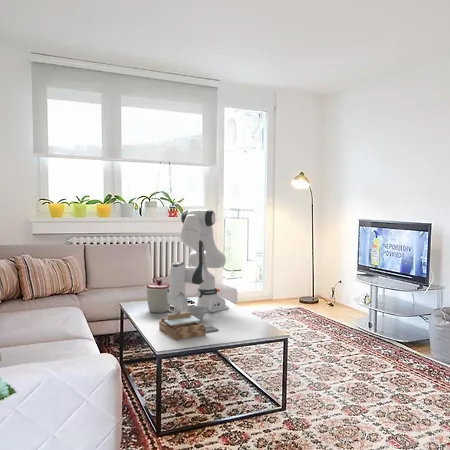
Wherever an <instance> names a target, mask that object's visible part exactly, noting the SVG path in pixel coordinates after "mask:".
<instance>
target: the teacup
mask: <svg viewBox="0 0 450 450" xmlns="http://www.w3.org/2000/svg"><path fill="white" fill-rule="evenodd" d="M205 308H207V311H204V309H205ZM208 311H209V309H208V307H203V306H197V305H191V306H188V309H187V310H186V312H191V316H194V317H196V318H198V319H200V321H202V320H203V318H204V317H205V316H206V315H207V314H208V313H209V312H208Z"/></svg>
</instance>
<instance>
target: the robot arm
mask: <svg viewBox="0 0 450 450" xmlns="http://www.w3.org/2000/svg"><path fill="white" fill-rule="evenodd" d="M216 219H217V217H216V213H215V211H213V210H212V209H205V208H198V209H196V208H195V209H194V208H193V209H184V210H183V211H182V212H181V217H180V220H181V221H180V222H181V223H182V226H181V232H180V240H181V242H182V244H183V245H184V246H185V247H187V248H189V249H192V250H193V251H191V252H190V253H189V256H188V264H189V265H190V266H187V265H185V263H184V262H182V261H174V262H173V263H171V264H170V267H169V268H170V269H169V280H170V281H169V282H170V283H169V284H170V287H169V288H167V292H168V293H167V301H168V304H170V306H172V307H173V309H174V314H178V313H181V312H184V311H185V312H187V309H188V307H189V306H188V304H189V303H188V297H187V296H186V284H193V285H198V288H197V303H196V306H203V307H208V309H209V311H208V312H207V313H216V312H219V311H223V310H228V309H230V306H229V305H227V304H226V300H225V298H224V297H223V296H221V295H220V294H219V292H221V289H220V288H216V277H215V275H214V274H213V273H212V272H210V271H209V270H208V268H209V269H221V268H223V267H224V266H225V265H226V262H227V260H226V256H225V254H224V253H223V252H222V251H220V250H219V249H218V247H217V244H216V243H215V238H214V237H215V236H214V228H213V226H214V224H215V223H216ZM206 311H207V308H205V309H204V312H206Z"/></svg>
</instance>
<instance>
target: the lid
mask: <svg viewBox="0 0 450 450" xmlns="http://www.w3.org/2000/svg"><path fill="white" fill-rule="evenodd" d="M166 318H167V319H166V320H164V321H165V322H166V323H168V324H169V325H171V326H173V325H180V324H186V323H193V322H198V323H199V322H201V320H200V319H198V318H196V317H194V316H191V312H187V311H185V312H180V313H178V314H175V313H173V314H167V317H166Z"/></svg>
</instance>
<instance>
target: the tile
mask: <svg viewBox="0 0 450 450" xmlns="http://www.w3.org/2000/svg"><path fill="white" fill-rule="evenodd" d="M205 327H206V333H207V334H208V333H214V332H219V329H218V328H217V327H215V326H213V325H208V326H205Z"/></svg>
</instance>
